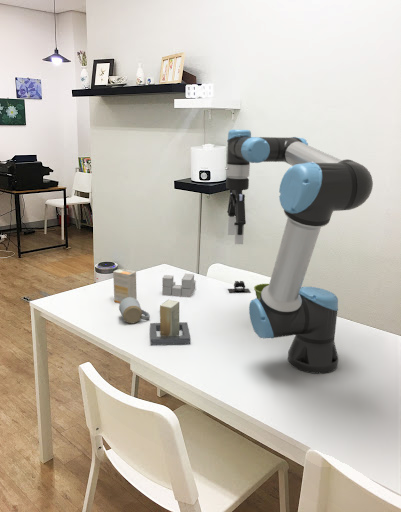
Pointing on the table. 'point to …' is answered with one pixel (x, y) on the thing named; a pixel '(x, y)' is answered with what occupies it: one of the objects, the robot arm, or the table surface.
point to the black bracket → (239, 290)
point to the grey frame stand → (169, 339)
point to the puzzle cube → (178, 286)
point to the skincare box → (169, 318)
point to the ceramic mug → (132, 310)
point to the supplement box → (124, 284)
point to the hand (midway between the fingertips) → (235, 239)
